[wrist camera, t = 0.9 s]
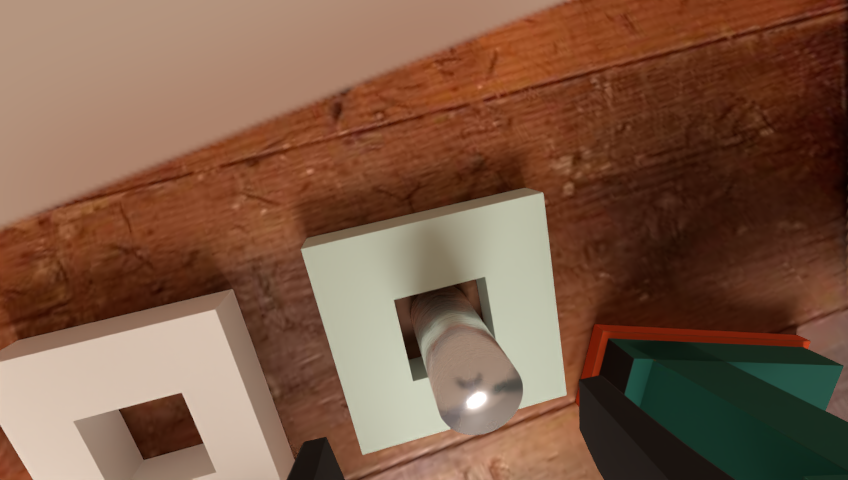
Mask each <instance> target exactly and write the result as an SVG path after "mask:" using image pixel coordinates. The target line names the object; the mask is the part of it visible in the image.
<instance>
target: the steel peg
mask: <svg viewBox="0 0 848 480" xmlns="http://www.w3.org/2000/svg"><path fill="white" fill-rule="evenodd" d="M411 321H412V325H413V328H414V331H415V335H416V338H417V341H418V345H419V348H420V351H421V355H422V358H423V361H424V365H425V368H426V371H427V375H428V378H429V381H430V385H431V388H432V391H433V394H434V398H435V401H436V404H437V408H438V411H439V414H440V416H441V418H442V420H443V421H444V422H445V423H446V424H447V425H448V426H449V427H450V428H451V429H453V430H455V431H457V432H459V433H463V434H468V435H479V434H485V433H488V432H491V431H494V430H496V429H498V428H500V427H501V426H503V425H504V424H505V423H507V422H508V421H509V420H510V419H511V418H512V417H513V415H514V414H515V413H516V411H517V410H518V408H519V406H520V403H521V400H522V396H523V383H522V379H521V377H520V375H519V373H518V371H517V370H516V368H515V367H514V366H513V364H512V363H511V361H510V360H509V358H508V357H507V355H506V354H505V353H504V351H503V350H502V348H501V347H500V345H499V344H498V343H497V341H496V340H495V338H494V337H493V335H492V334H491V333H490V331H489V330H488V328H487V327H486V325H485V324H484V323H483V321H482V320H481V318H480V317H479V315H478V314H477V313H476V311H475V310H474V308H473V307H472V305H471V304H470V303H469V301H468V300H467V298H466V297H465V295H464V294H463V293H462V292H461V291H460V290H458V289H457V288H455V287H453V286H447V287H443V288H439V289H435V290H431V291H427V292H423V293H420V294H419V295H418V296H417V297H416V299H415V300H414V302H413V304H412V308H411Z"/></svg>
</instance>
